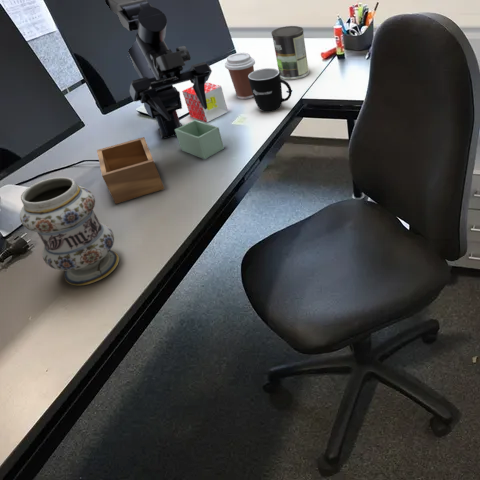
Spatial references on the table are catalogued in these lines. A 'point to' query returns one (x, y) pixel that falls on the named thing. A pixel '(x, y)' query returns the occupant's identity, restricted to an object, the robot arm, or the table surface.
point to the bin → (199, 139)
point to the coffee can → (290, 52)
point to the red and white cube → (213, 100)
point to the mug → (267, 89)
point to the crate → (129, 170)
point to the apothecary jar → (69, 230)
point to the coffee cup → (241, 73)
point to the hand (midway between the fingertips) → (188, 114)
